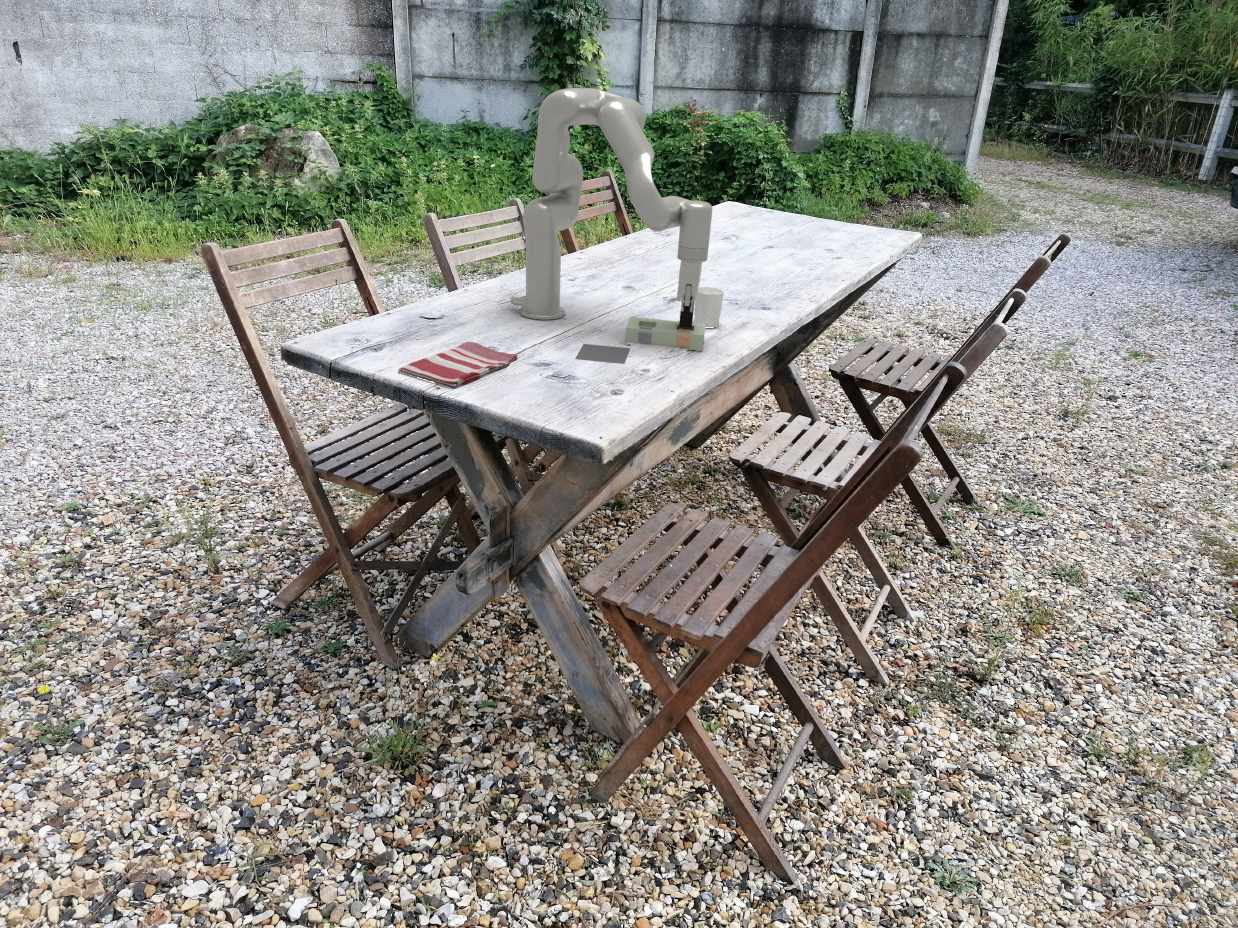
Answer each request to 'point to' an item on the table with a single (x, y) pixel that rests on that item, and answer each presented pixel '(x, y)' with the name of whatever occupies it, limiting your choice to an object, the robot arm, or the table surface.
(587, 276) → the table surface
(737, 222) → the table surface
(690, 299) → the dowel
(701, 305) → the white cup
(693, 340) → the socket block
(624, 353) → the mat
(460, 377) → the dish towel
